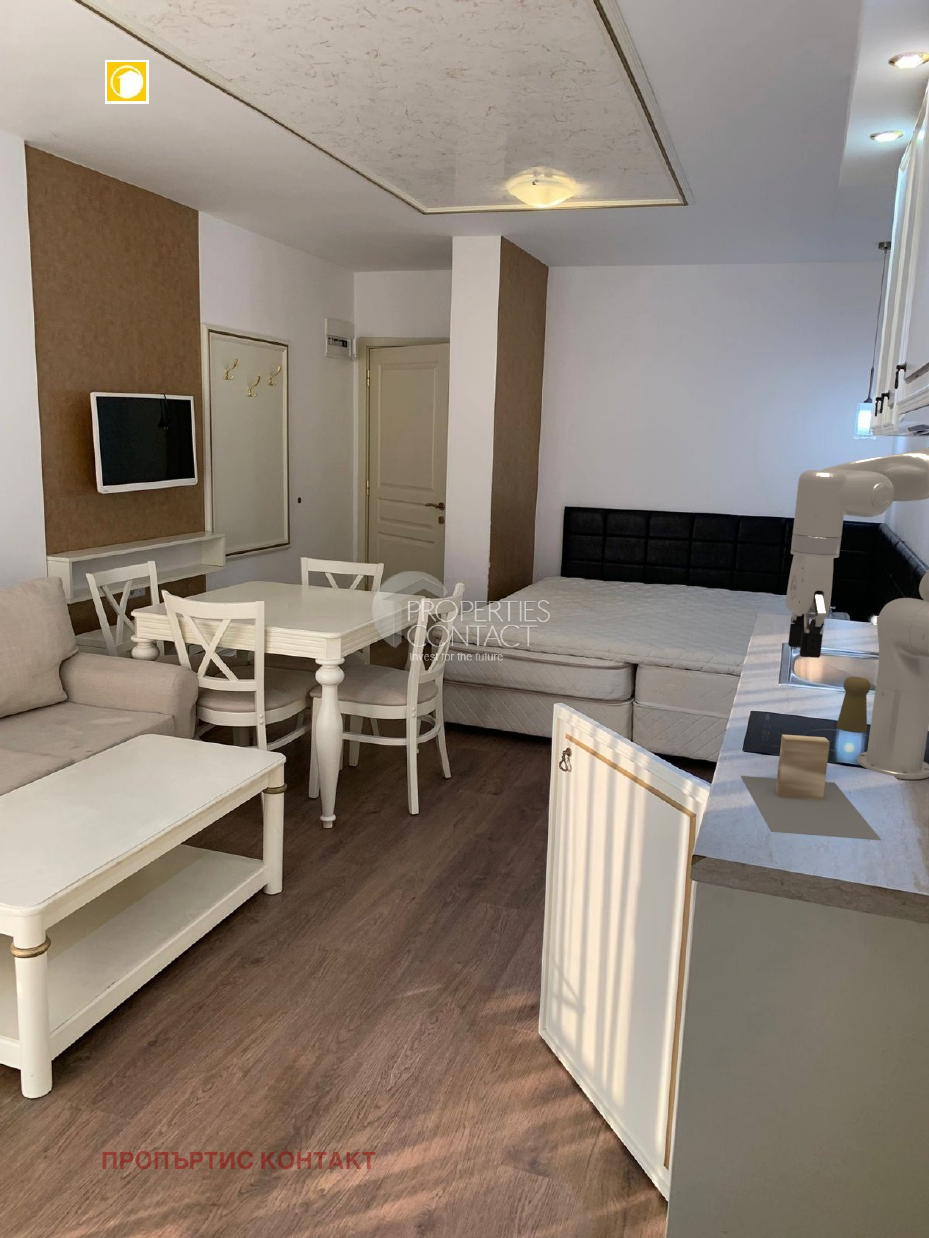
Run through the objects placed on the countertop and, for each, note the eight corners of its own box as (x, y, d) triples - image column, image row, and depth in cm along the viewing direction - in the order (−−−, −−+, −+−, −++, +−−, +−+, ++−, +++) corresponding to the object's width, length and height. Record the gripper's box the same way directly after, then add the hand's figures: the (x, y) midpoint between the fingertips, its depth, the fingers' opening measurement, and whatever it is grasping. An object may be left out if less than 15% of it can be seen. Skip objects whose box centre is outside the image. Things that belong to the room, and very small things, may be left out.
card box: (775, 791, 157) (781, 733, 155) (818, 794, 156) (825, 736, 154) (779, 797, 154) (785, 739, 152) (822, 800, 153) (829, 742, 151)
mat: (740, 778, 164) (740, 775, 163) (834, 785, 162) (834, 782, 162) (770, 835, 140) (771, 831, 140) (881, 843, 139) (881, 839, 139)
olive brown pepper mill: (859, 724, 200) (865, 674, 198) (872, 733, 194) (878, 681, 192) (831, 723, 200) (837, 673, 198) (843, 732, 194) (850, 680, 192)
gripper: (779, 540, 163) (769, 639, 166) (805, 551, 146) (793, 662, 149) (824, 542, 162) (812, 642, 166) (855, 553, 145) (841, 665, 149)
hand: (803, 651), depth 157 cm, fingers open, 6 cm apart
